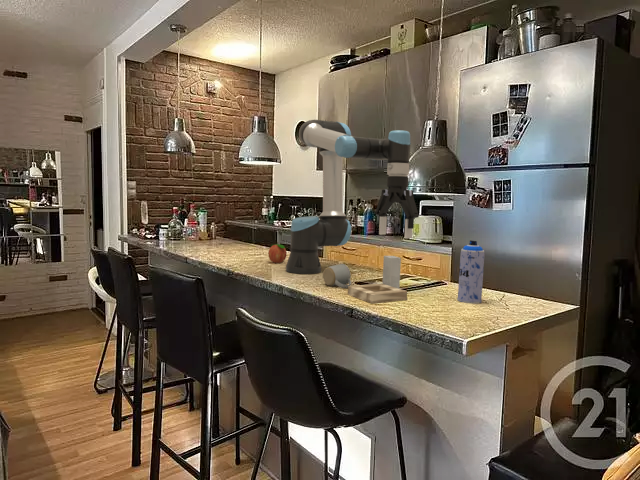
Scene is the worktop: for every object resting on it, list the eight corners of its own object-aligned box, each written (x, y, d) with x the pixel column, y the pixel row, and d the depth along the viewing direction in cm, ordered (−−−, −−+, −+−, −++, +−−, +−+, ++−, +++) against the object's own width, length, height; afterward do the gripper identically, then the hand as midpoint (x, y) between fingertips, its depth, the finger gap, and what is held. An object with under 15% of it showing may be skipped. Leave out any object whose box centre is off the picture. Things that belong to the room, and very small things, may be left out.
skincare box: (399, 291, 168) (401, 257, 166) (388, 291, 166) (390, 258, 165) (392, 287, 173) (393, 255, 172) (381, 288, 172) (383, 255, 171)
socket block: (347, 294, 160) (348, 286, 159) (381, 291, 167) (381, 283, 166) (371, 303, 148) (372, 294, 147) (406, 299, 154) (407, 291, 154)
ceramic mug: (320, 284, 175) (321, 264, 174) (337, 282, 180) (338, 262, 180) (339, 290, 167) (340, 268, 166) (356, 287, 172) (357, 267, 171)
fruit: (279, 260, 230) (279, 240, 229) (290, 263, 223) (291, 242, 222) (264, 262, 225) (264, 241, 224) (275, 264, 218) (276, 243, 217)
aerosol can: (452, 298, 158) (455, 239, 156) (470, 297, 161) (474, 239, 159) (468, 304, 151) (472, 242, 149) (487, 302, 154) (491, 241, 152)
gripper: (367, 175, 174) (364, 233, 176) (414, 174, 153) (411, 240, 155) (382, 176, 178) (380, 232, 180) (431, 175, 157) (428, 239, 159)
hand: (394, 236), depth 167 cm, fingers open, 13 cm apart
